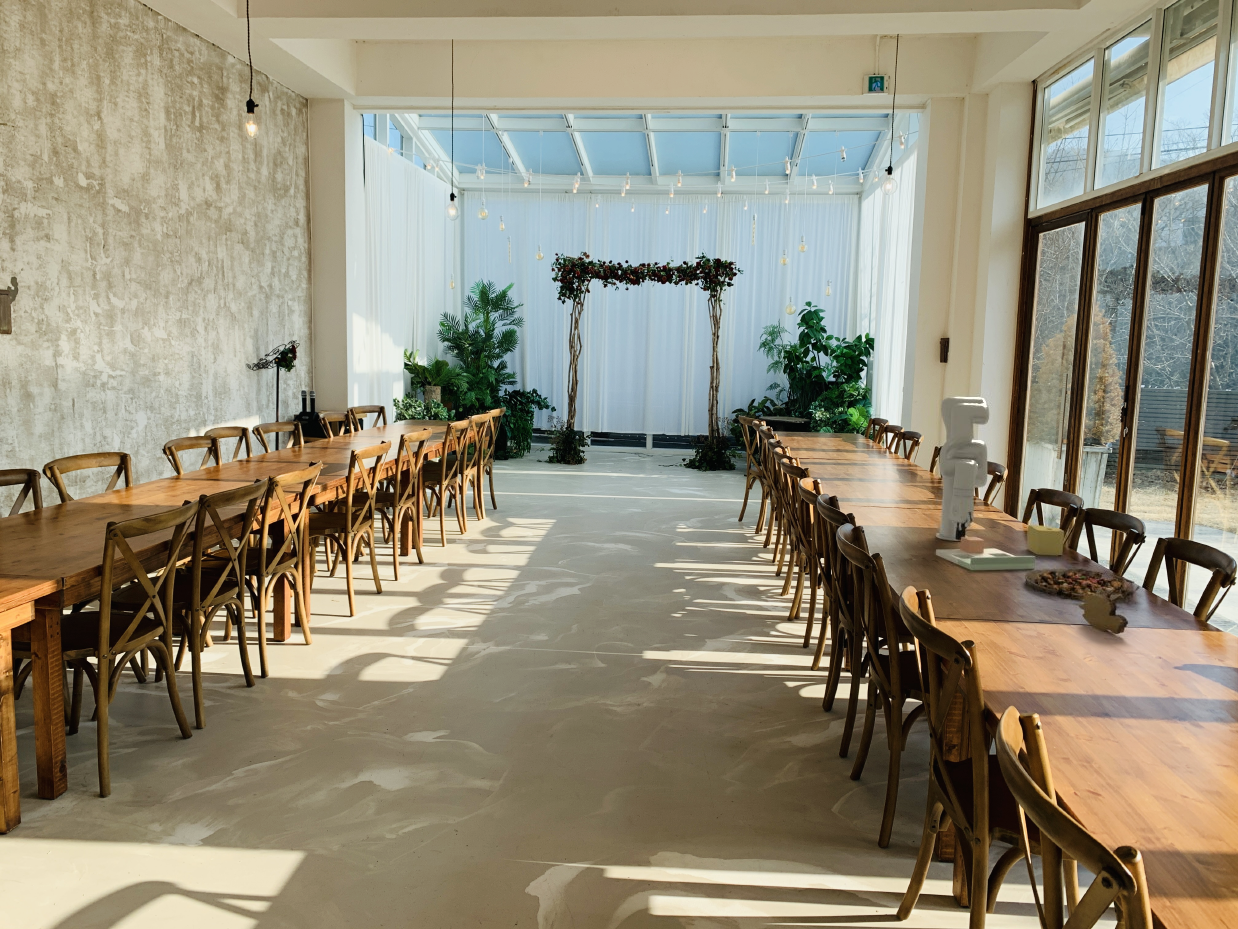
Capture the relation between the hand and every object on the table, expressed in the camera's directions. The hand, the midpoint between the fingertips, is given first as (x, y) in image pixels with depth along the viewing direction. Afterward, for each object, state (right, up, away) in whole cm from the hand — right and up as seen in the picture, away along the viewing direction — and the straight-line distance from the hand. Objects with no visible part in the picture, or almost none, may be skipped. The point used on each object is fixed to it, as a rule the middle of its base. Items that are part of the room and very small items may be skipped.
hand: (960, 539), depth 344 cm
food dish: (+19, -13, -52) cm, 57 cm away
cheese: (+34, -6, +3) cm, 35 cm away
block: (+2, -4, -7) cm, 8 cm away
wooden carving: (+3, -18, -94) cm, 96 cm away
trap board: (+3, -7, -14) cm, 16 cm away
